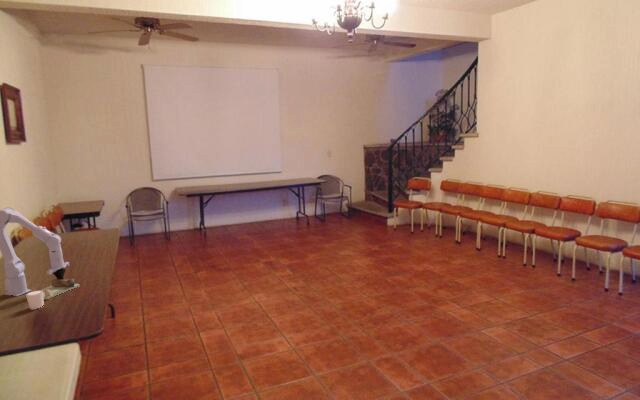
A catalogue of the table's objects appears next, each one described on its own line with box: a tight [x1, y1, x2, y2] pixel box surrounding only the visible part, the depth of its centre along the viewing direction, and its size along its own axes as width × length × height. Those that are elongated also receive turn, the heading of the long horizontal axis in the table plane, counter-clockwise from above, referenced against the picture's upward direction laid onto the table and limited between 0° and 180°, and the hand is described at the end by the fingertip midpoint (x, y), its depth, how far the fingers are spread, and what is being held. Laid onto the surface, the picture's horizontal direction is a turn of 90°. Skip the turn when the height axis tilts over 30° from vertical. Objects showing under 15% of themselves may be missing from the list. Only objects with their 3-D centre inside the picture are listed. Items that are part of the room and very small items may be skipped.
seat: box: [30, 283, 81, 300], centre depth 226 cm, size 14×18×4 cm
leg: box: [51, 278, 76, 287], centre depth 230 cm, size 12×3×3 cm, turn 79°
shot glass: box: [25, 289, 45, 310], centre depth 207 cm, size 7×7×7 cm
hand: (60, 283), depth 232 cm, fingers closed, pressing on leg
